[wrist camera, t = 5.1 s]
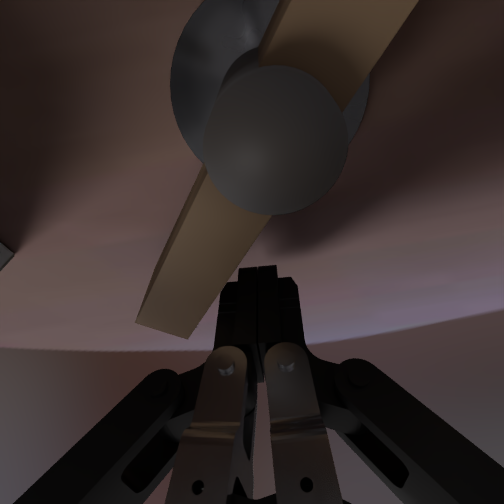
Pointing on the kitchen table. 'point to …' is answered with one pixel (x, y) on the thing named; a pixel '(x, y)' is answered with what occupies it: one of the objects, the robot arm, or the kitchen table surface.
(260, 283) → the robot arm
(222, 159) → the tan wooden bar
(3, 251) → the light bulb box
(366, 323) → the kitchen table surface
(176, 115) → the pivot base
